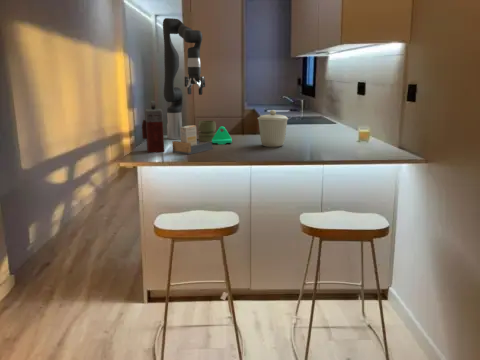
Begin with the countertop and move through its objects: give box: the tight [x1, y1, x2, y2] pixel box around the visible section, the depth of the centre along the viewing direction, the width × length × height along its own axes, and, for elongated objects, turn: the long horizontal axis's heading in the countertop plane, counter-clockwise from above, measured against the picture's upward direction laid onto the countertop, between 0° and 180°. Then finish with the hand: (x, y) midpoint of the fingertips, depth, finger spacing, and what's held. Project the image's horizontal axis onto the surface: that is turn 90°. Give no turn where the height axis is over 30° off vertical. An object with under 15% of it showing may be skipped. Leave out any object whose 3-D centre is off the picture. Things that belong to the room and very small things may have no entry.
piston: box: [197, 120, 217, 143], centre depth 294 cm, size 11×12×11 cm
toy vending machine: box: [141, 100, 165, 154], centre depth 254 cm, size 9×11×28 cm
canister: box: [257, 109, 289, 148], centre depth 269 cm, size 18×18×21 cm
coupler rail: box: [172, 140, 214, 155], centre depth 257 cm, size 12×20×6 cm, turn 143°
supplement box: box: [180, 124, 198, 146], centre depth 254 cm, size 8×5×13 cm, turn 142°
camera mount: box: [211, 126, 233, 145], centre depth 281 cm, size 12×8×10 cm, turn 91°
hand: (195, 94), depth 269 cm, fingers open, 8 cm apart
